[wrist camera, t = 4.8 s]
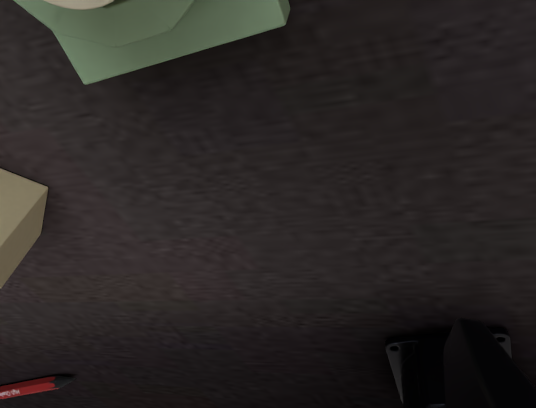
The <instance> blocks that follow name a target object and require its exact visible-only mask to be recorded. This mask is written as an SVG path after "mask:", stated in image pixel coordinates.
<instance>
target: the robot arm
mask: <svg viewBox="0 0 536 408" xmlns="http://www.w3.org/2000/svg"><path fill="white" fill-rule="evenodd" d="M385 346H386V352H387V355H388V359H389V362H390V365H391V368H392V371H393V375H394V378H395V381H396V384H397V388H398V391H399V394H400V397H401V401H402V402H403V407H404V408H536V389H535V388H534V386H533V385H532V384H531V382H530V381H529V380H528V379H527V377H526V376H525V375H524V374H523V372H522V371H521V370H520V368H519V367H518V366H517V365H516V363H515V362H514V361H513V360H512V357H511V342H510V336H509V333H508V331H507V330H506V329H504V328H490V329H488V328H487V327H486V325H485V324H484V323H483V322H481V321H479V320H474V319H467V318H458V319H457V320H456V321H455V323H454V325H453V327H452V330H451V332H446V333H435V334H425V335H414V336H403V337H392V338H389V339H387V340H386V341H385Z"/></svg>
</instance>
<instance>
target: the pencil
mask: <svg viewBox="0 0 536 408" xmlns="http://www.w3.org/2000/svg"><path fill="white" fill-rule="evenodd" d="M75 379H77V378H71V377H65V376H51V377H46V378H41V379H36V380H31V381H25V382H20V383H15V384H10V385H5V386H0V399H4V398H10V397H15V396H21V395H26V394H32V393H37V392H43V391H48V390H54V389H59V388H61V387H63V386H64V385H66V384H68V383H70V382H71V381H73V380H75Z"/></svg>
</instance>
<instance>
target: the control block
mask: <svg viewBox="0 0 536 408" xmlns="http://www.w3.org/2000/svg"><path fill="white" fill-rule="evenodd" d="M14 1H15V2H16V3H17V4H19V5H20V6H21V7H23V8H24V9H25V10H26V11H28V12H29V13H30V14H32V15H33V16H34V17H35V18H37V19H38V20H39V21H41V22H42V23H43V24H45V25H46V26H47V27H48V28H50V29H51V30H52V31H53V33H54V34H55V36H56V38H57V39H58V41H59V43H60V45H61V46H62V48H63V50H64V51H65V53H66V55H67V56H68V58H69V60H70V61H71V63H72V65H73V67H74V68H75V70H76V72H77V73H78V75H79V77H80V78H81V80H82V82H83V83H84V84H85V85H88V84H91V83H94V82H98V81H101V80H104V79H108V78H111V77H114V76H118V75H121V74H124V73H128V72H131V71H135V70H138V69H141V68H145V67H148V66H151V65H155V64H158V63H161V62H165V61H168V60H171V59H175V58H178V57H181V56H185V55H188V54H191V53H195V52H198V51H201V50H205V49H208V48H211V47H215V46H218V45H221V44H225V43H228V42H232V41H235V40H238V39H242V38H245V37H248V36H252V35H255V34H258V33H262V32H265V31H268V30H272V29H275V28H278V27H282V26H284V25H286V22H287V19H288V15H289V12H290V5H289V2H288V0H114V1H113V2H111V3H109V4H107V5H105V6H102V7H99V8H95V9H87V10H75V9H68V8H63V7H60V6H56V5H53V4H51V3H48V2H46V1H44V0H14Z"/></svg>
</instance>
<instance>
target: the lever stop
mask: <svg viewBox="0 0 536 408" xmlns="http://www.w3.org/2000/svg"><path fill="white" fill-rule="evenodd" d="M47 193H48V187H47V186H44V185H41V184H39V183H36V182H34V181H31V180H29V179H26V178H24V177H21V176H19V175H16V174H14V173H11V172H8V171H6V170H3V169H1V168H0V289H1V288H2V287H3V285H4V284H5V282H6V281H7V280H8V278H9V277H10V276H11V274H12V273H13V272H14V270H15V269H16V267H17V266H18V265H19V263H20V262H21V261H22V259H23V258H24V257H25V255H26V254H27V252H28V251H29V250H30V248H31V247H32V246H33V244H34V243H35V241H36V240H37V239H38V237H39V236H40V235H41V230H42V224H43V218H44V211H45V205H46V199H47Z"/></svg>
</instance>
